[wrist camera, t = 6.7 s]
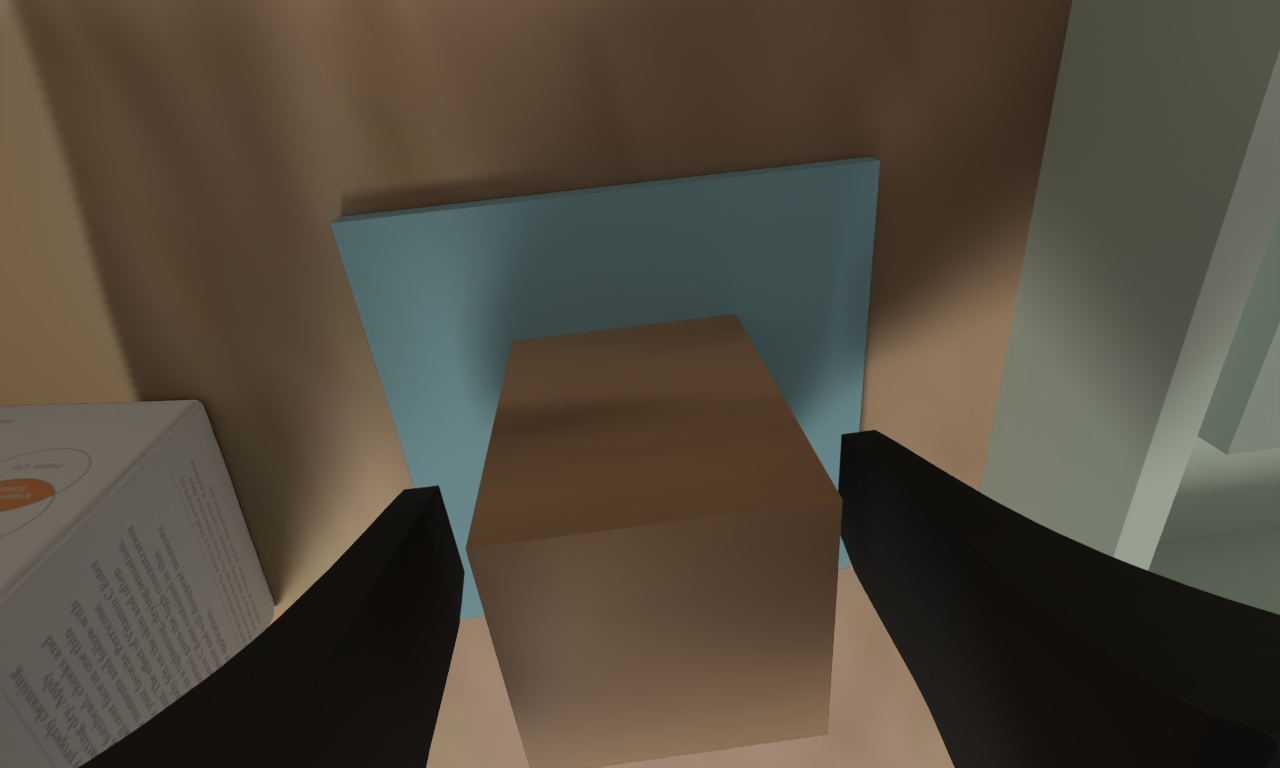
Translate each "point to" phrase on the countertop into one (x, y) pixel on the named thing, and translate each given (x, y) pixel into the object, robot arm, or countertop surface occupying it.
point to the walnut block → (654, 547)
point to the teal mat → (612, 298)
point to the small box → (114, 572)
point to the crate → (1154, 299)
